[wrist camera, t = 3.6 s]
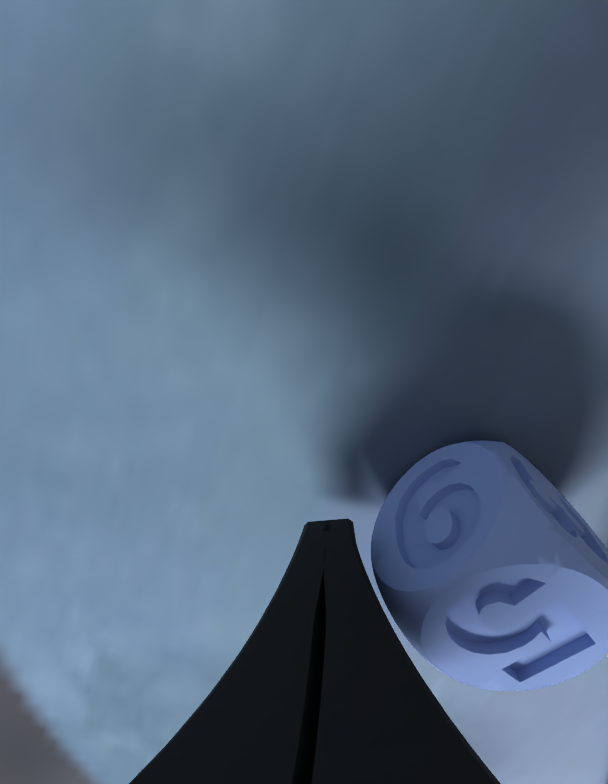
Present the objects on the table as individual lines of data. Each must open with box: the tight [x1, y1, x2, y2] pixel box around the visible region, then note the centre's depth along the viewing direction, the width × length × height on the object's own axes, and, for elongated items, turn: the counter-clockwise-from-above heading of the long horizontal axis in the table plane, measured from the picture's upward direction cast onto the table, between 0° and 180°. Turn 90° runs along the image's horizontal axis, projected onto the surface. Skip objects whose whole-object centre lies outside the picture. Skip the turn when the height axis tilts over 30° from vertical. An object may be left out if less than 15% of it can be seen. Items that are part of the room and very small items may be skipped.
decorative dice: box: [371, 441, 608, 691], centre depth 11 cm, size 4×4×4 cm
